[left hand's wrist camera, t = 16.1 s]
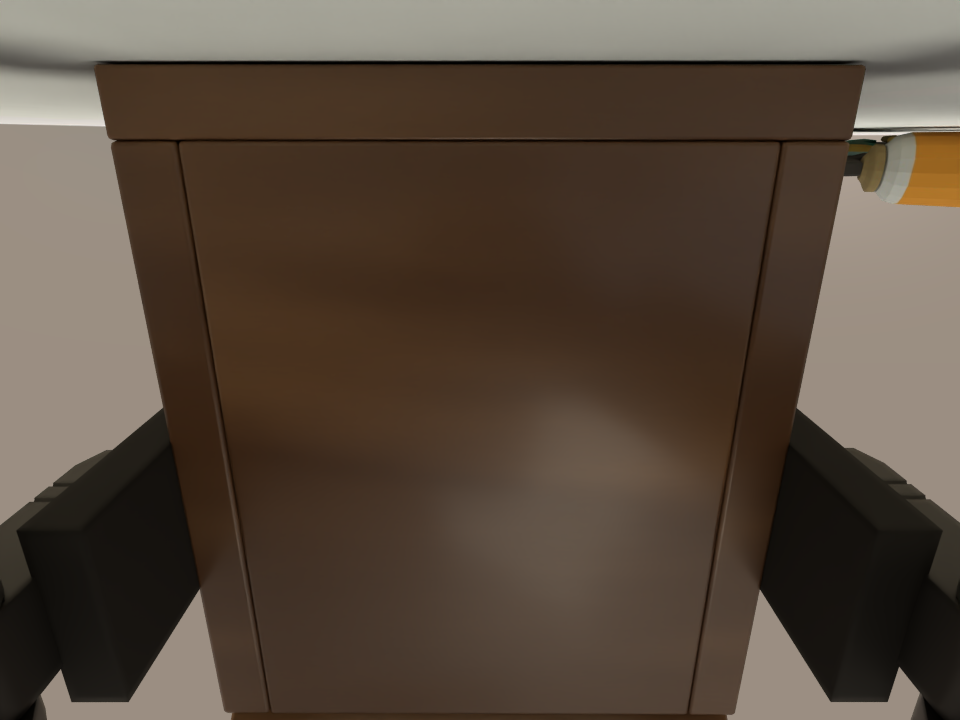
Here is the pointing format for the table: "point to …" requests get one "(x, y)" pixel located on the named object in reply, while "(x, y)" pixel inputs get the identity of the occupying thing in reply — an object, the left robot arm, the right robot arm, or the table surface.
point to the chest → (479, 366)
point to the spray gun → (909, 168)
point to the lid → (468, 716)
